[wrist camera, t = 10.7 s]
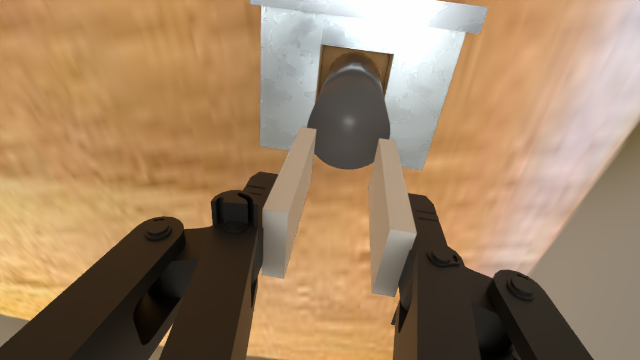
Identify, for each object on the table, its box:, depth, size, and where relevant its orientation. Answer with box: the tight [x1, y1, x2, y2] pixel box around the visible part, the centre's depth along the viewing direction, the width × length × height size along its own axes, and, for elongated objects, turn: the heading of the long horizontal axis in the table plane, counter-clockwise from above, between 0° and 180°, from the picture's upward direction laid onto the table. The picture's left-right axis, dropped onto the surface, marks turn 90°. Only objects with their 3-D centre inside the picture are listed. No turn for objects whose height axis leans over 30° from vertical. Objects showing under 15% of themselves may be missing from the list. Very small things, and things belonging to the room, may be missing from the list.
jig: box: [249, 0, 489, 170], centre depth 27 cm, size 16×14×6 cm
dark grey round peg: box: [307, 52, 390, 169], centre depth 24 cm, size 5×5×13 cm
